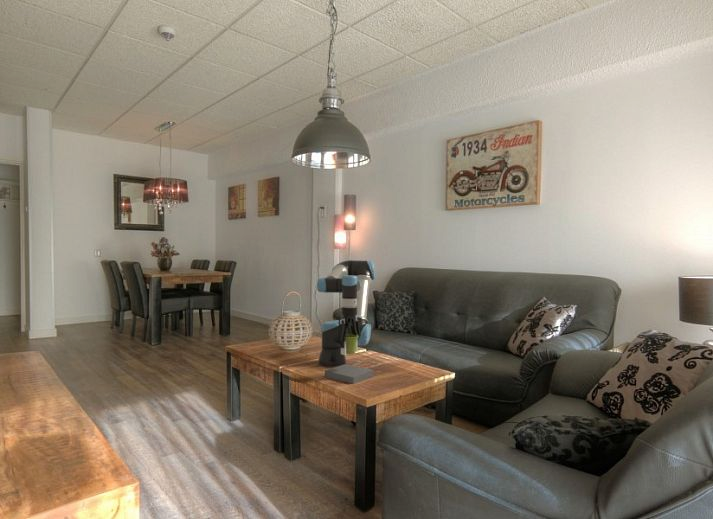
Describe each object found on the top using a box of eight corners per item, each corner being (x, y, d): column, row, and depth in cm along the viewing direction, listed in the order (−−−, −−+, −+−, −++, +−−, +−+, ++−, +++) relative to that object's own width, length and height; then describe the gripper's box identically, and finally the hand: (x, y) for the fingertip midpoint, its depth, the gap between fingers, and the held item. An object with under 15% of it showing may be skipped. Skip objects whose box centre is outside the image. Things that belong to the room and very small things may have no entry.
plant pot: (343, 356, 203) (343, 338, 203) (336, 351, 212) (336, 334, 212) (361, 354, 207) (361, 336, 207) (353, 350, 216) (354, 333, 216)
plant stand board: (324, 376, 209) (324, 370, 209) (345, 369, 221) (345, 364, 221) (353, 383, 198) (353, 377, 198) (373, 376, 211) (373, 370, 210)
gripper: (341, 309, 198) (341, 358, 199) (368, 305, 215) (367, 350, 215) (329, 308, 203) (329, 355, 203) (356, 304, 220) (356, 348, 220)
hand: (349, 352), depth 209 cm, fingers closed on plant pot, 8 cm apart
